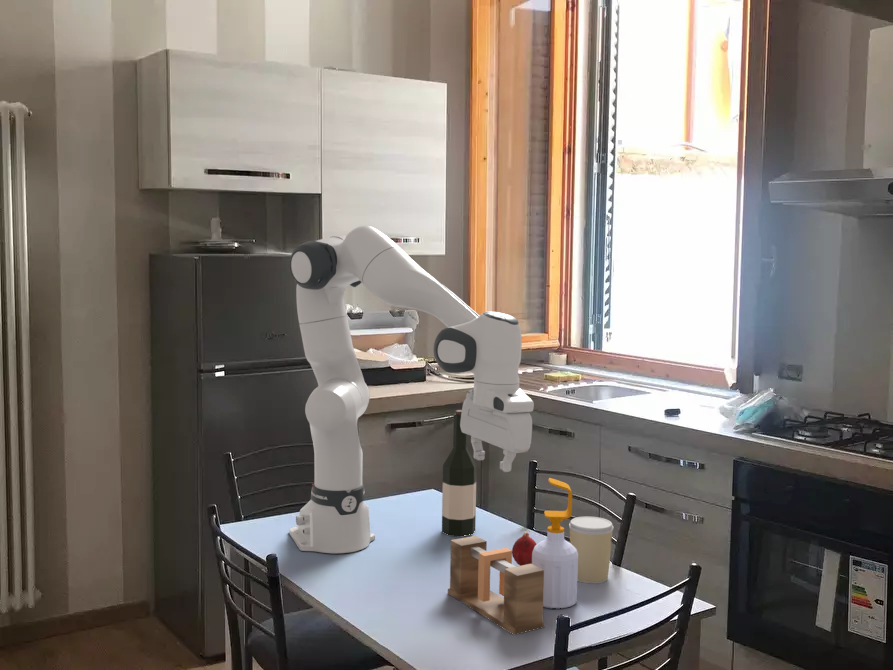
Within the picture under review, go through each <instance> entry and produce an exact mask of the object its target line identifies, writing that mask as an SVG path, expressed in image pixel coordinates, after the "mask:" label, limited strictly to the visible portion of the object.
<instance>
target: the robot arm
mask: <svg viewBox="0 0 893 670" xmlns="http://www.w3.org/2000/svg"><path fill="white" fill-rule="evenodd" d="M289 268H290V274H291V276H292V278H293V280H294V281H295V283H296V290H295V291H296V292H295V293H296V310H297V318H298V324H299V329H300V334H301V339H302V345H303V351H304V357H305V358H306V361H307V362H308V363H309V365H310V367H311V369H312V371H313V374H314V376H315V379H316V382H317V387H316V388H314V389H313V391H312V392H311V393H310V395H309V396H308V398H307V401H306V403H305V405H304V406H305V408H304V413H305V417H306V419H307V422H308V423H309V428H310V429H309V430H310V434H311V439H312V446H313V452H314V455H313V456H314V457H313V458H314V460H313V461H314V483H311V486H312V487H311V492H310V500H309V501H308V502H307V503H306V504H305V505H304V506H302V508H300V510H299V512H298V513H299V514H298V515H296V516H295V522H296V523H295V524H296V525H295V526H293V527H290V528H289V530H288V531H289V532H288V533H289V535H290V536H291V538H292V540H293V541H294V543H295V544H296V546H297V547H298V549H299V550H300V551H303V552H318V553H324V554H345V553H346V554H347V553H354V552H358V551H360V550H361V551H362V550H363V549H365V548H367V547H368V546H369V545H370V543H371V542H372V541H374V540H375V539H376V535H375V533H373V532H371V523H370V510H369V508H370V507H369V506H368V504H367V503H365V502H364V500H365V494H366V493H365V485H364V483H363V456H364V455H363V448H362V447H361V443H360V439H359V431H358V420H359V418H360V417H361V416H362V415H363V414H364V413H365V412H366V410H367V409H368V405H369V402H370V397H371V394H370V389H369V387H368V385H367V383H366V382H365V378H364V375H363V372H362V370H361V369H362V368H361V366H360V364H359V361H358V359H357V355H356V352H355V348H354V345H353V340H352V334H351V329H350V324H349V319H348V314H347V309H346V304H345V300H344V298H345V297H344V295H345V291H346V289H347V288H348V287H349V286H351V287H353V288H356V287H358V286H359V285H360V284H362V285H363V286H364V287H365V288H366V289H367V290H368V291H369V292H370V294H372V295H373V296H375V298H377V299H379V301H382V302H383V303H384V304H386V305H388V306H392V307H399V308H405V309H412V310H415V311H416V310H417V311H420V312H424V313H425V314H428V315H431V316H433V317H435V318H436V319H437V320H438V321H439V322H441V323H442V324H443V325H444V326H446V328H444V329H442V330H440V331H439V332H438V334H436V335H437V336H436V338H435V339H434V343H433V356H434V359H435V361H436V364H437V366H439V368H441V370H442V371H444V372H445V373H449V374H456V375H461V374H468V373H470V374H471V373H472V374H473V377H474V378H473V388H470V389H469V390H468V392H467V393H466V394H465V399H464V400H463V403H462V408H461V410H462V413H461V421H460V427H461V431H462V432H463V433H465V434H467V436H470V443H471V446H472V449H473V459H474V460H477V461H484V460H485V457H486V456H485V455H486V451H485V450H484V447H483V442H485V443H488V444H489V445H492V446H494V447H495V446H496V447H498V448H499V449H502V450H503V451H502V454H503V455H504V457H503V459H502V461H501V460H500V461H499V470H500V471H501V472H503V473H508V472H511V471H512V464H513V462H514V460H515V458H516V456H517V454H521V453H527V452H528V451H529V449H530V447H531V444H532V436H533V435H532V434H533V418H532V415H531V414H530V413H531V412H533V411H534V407H535V404H534V400H532V398H530V397H529V396H528V395H527V394H526V393H525V392H524V391H523V390H522V388H520V376H519V368H520V364H521V361H522V339H523V338H522V329H521V325H520V322H519V320H518V319H517V318H515V316H512V315H511V314H508V313H504V312H499V311H494V310H493V311H491V310H490V311H489V310H488V311H487V310H486V311H483V312H482V313H481V314H478V313H477V312H476V310H474V309H473V308H472V307H470V306H469V305H468V304H467V303H466V302H465V301H463V300H462V298H460V297H459V296H458V295H456V293H454V292H453V291H452V290H450V289H449V288H448V287H447V286H445V284H443V283H441V282H440V281H439V280H437V279H436V278H435V277H434V276H432V275H431V274H430V273H428V272H427V271H426V270H425V269H423V268H422V267H421V266H420V265H419V264H418V263H417V262H416V261H415V260H413V259H412V258H411V257H410V255H408V254H407V253H406V252H405V250H403V249H402V248H401V247H400V246H399V245H398V244H397V243H396V242H395V241H394V240H393V239H391V238H390V236H389V237H388V235H386V234H385V233H383V232H382V231H380V230H379V229H377V228H375V227H373V226H371V225H360V226H357V227H355V228H353V229H352V230H351V231H350V232H348V233H347V235H345V234H344V235H332V236H330V237H327V238H326V237H325V238H321V239H318V240H309V241H306V242H303V243H301V244H300V245H297V246H296V247H295V248H294V249H293V251H292V252H291V255H290V258H289Z"/></svg>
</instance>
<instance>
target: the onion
mask: <svg viewBox="0 0 893 670" xmlns="http://www.w3.org/2000/svg"><path fill="white" fill-rule="evenodd" d="M537 544H538V543H537V542H536V541H535V540H534V539H533V538H532V537H530V533H529V532H528V531H525V532H524V533H523V534H522V536H521V537H519V538H518V539H516V541H515V542H514V544H513V545H512V559H513V560H514V562H515V563H516V564H517V565H518V566H522V565H527V564H532V552H533V549H534V547H535V546H536V545H537Z"/></svg>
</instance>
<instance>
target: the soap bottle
mask: <svg viewBox="0 0 893 670" xmlns="http://www.w3.org/2000/svg"><path fill="white" fill-rule="evenodd" d="M547 481H548V483H549V484H550V485H551V486H554V487H557V488H559V489H562V490H565V491H567V492H568V494H567V495H568V496H567V497H568V498H567V499H568V500H567V508H566V509H565V510H545V511H544V512H543V515H544V517H545V519H548V520H549V521H550V522H551V525H549V526H547V529H546V531H547V533H546V534H547V536H546V538H545V539H543V540H541V541H539V542H538V543H536V544H537V545H536V546H535V547H534V549H533V552H532V564H533V565H535V566H537V567H539V568H541V569H543V570H544V585H543V608H547V609H552V608H556V609H557V610H560V608H561V609H566V608H569V607H572V606H575V604H577V600H578V598H577V597H578V581H577V576H578V552H577V549H576V548H575V547H574V546H573V545H572V544H571V543H570V541H567V540H566V539H565V527H563V526H561V523H562V522H564V520H567V519H569V518H571V517H572V514H573V492H572V489H571V486H570V485H569V484H568V483H566V482H564V481H561V480H558V479H556V478H553V477H549V478H548V479H547Z"/></svg>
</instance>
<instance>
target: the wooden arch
mask: <svg viewBox="0 0 893 670" xmlns="http://www.w3.org/2000/svg"><path fill="white" fill-rule="evenodd" d="M486 551H487V552H481V553H479V563H478V599H480V600H481V601H483V602H485V601H489V600H490V591H491V566H490V561H493V560H498V559H503V560H505V561H507V562H508V563H510V564H512V565H513V563H512V562H513V556H512V550H511V549H509V548H507V547H503V548H498V549H494V550H493V549H492V550H486ZM504 576H505V574H504V573H502V572H500V571H499V581H498V582H499V585H498V587H499V588H498V589H499V590H498V595H500V596H501V597H504Z"/></svg>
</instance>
